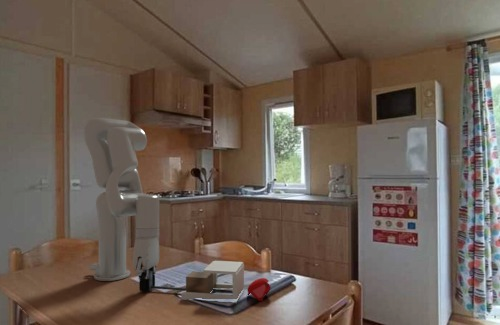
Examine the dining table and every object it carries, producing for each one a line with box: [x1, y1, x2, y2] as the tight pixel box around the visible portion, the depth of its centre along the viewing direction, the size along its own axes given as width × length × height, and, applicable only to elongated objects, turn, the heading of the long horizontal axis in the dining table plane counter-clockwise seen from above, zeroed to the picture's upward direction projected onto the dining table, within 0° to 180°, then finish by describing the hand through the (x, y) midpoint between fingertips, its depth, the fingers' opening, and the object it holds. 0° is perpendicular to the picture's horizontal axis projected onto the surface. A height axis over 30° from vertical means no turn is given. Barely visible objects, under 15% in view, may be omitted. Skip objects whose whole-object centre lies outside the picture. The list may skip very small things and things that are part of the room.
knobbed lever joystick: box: [142, 270, 214, 293], centre depth 113 cm, size 23×6×6 cm, turn 79°
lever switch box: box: [180, 260, 245, 301], centre depth 111 cm, size 17×11×9 cm, turn 79°
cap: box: [246, 277, 272, 302], centre depth 108 cm, size 8×6×6 cm
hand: (147, 288), depth 115 cm, fingers closed on knobbed lever joystick, 3 cm apart
